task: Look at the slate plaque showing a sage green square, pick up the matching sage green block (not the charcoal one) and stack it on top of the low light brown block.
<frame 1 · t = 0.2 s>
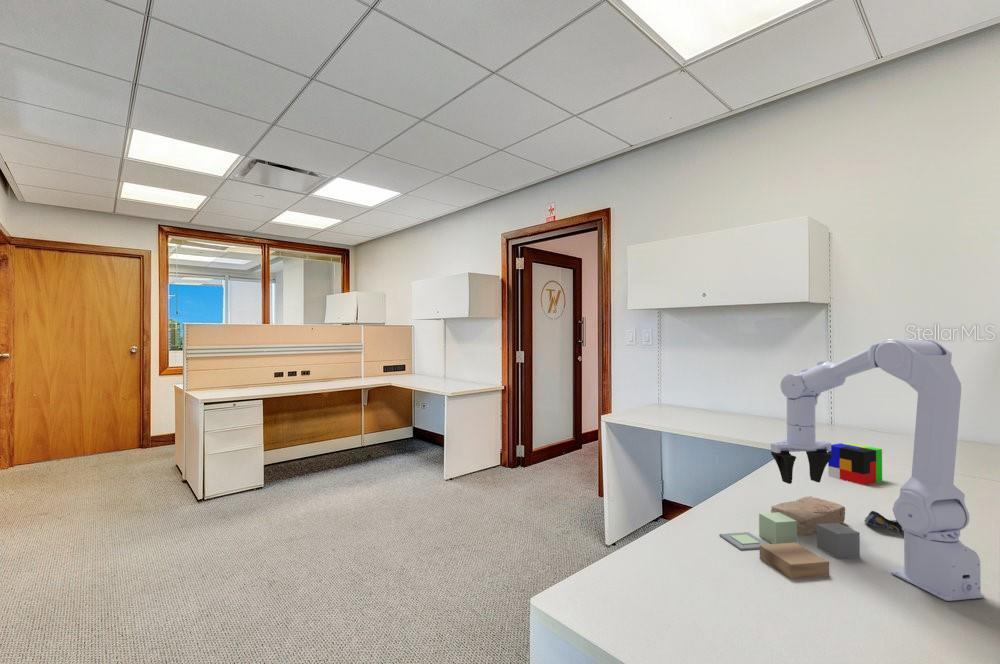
hand: (801, 481, 108), 10 cm above the table, fingers open, 7 cm apart
light brown block: (793, 568, 88), on the table
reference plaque: (744, 541, 98), on the table
sage block: (777, 540, 100), on the table
puzzle toy: (854, 479, 144), on the table
snack package: (902, 533, 104), on the table
brick: (807, 525, 109), on the table
charcoal block: (837, 552, 94), on the table
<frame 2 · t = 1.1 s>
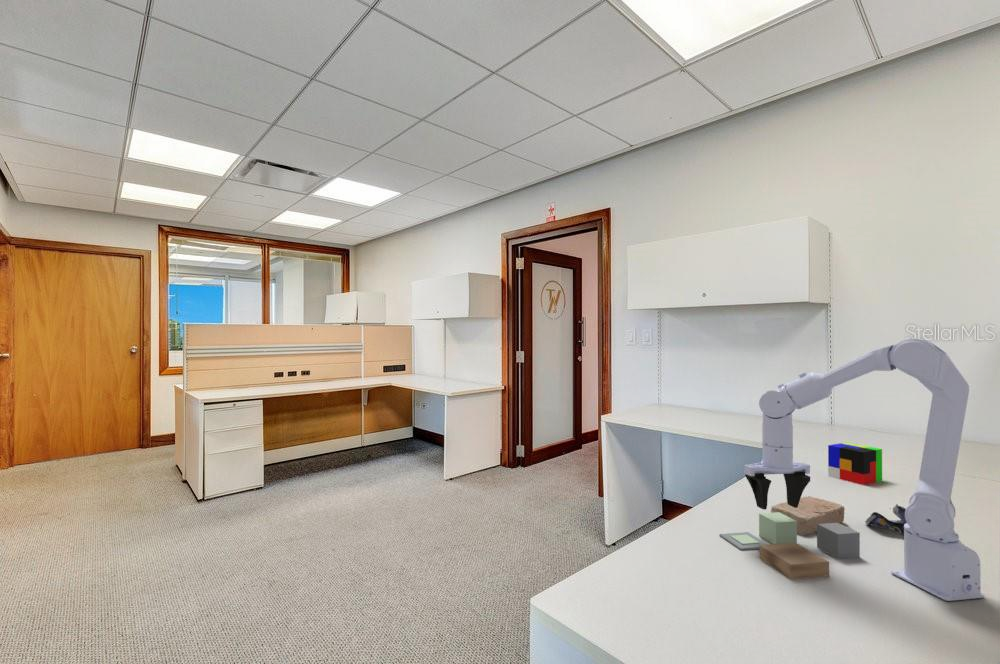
hand: (777, 507, 100), 7 cm above the table, fingers open, 7 cm apart
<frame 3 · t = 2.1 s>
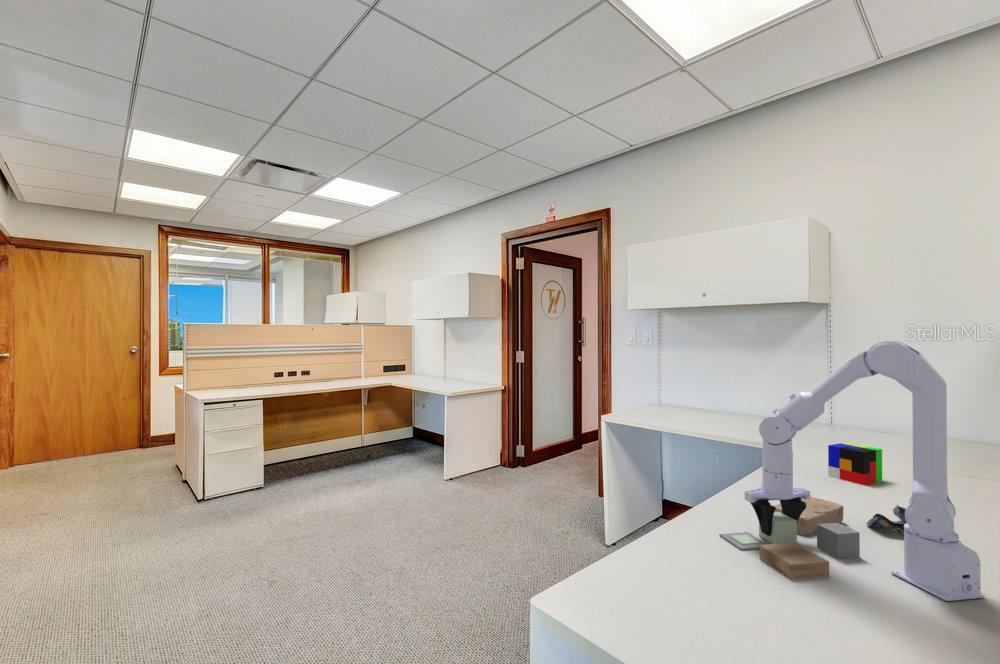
hand: (777, 533, 100), 1 cm above the table, fingers closed on sage block, 5 cm apart
sage block: (777, 539, 100), on the table, touching gripper
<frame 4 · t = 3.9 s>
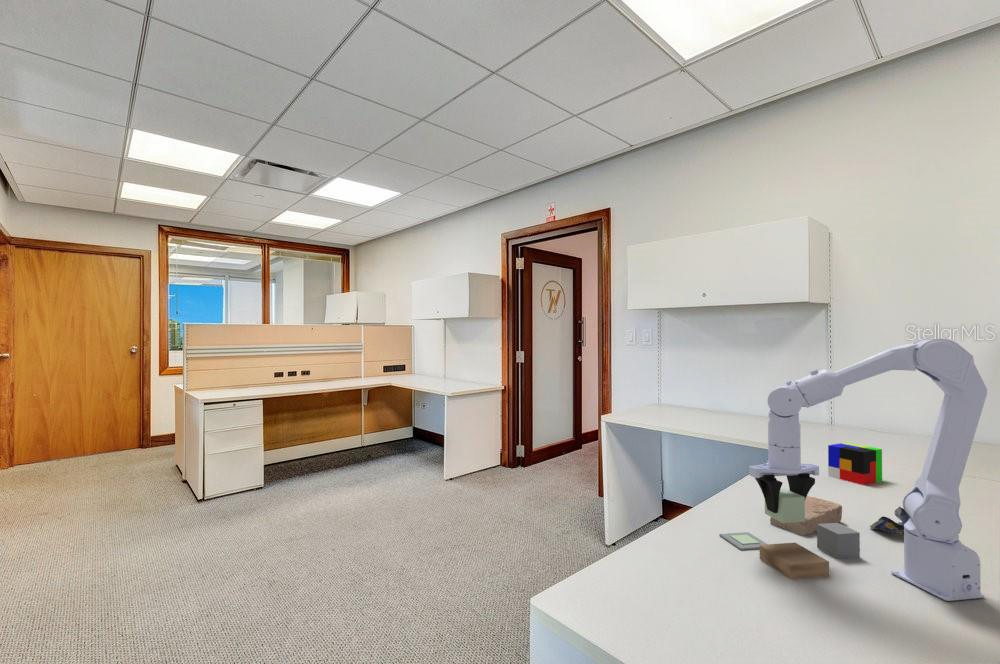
hand: (784, 510, 94), 8 cm above the table, fingers closed on sage block, 5 cm apart
sage block: (784, 517, 94), point 7 cm above the table, touching gripper
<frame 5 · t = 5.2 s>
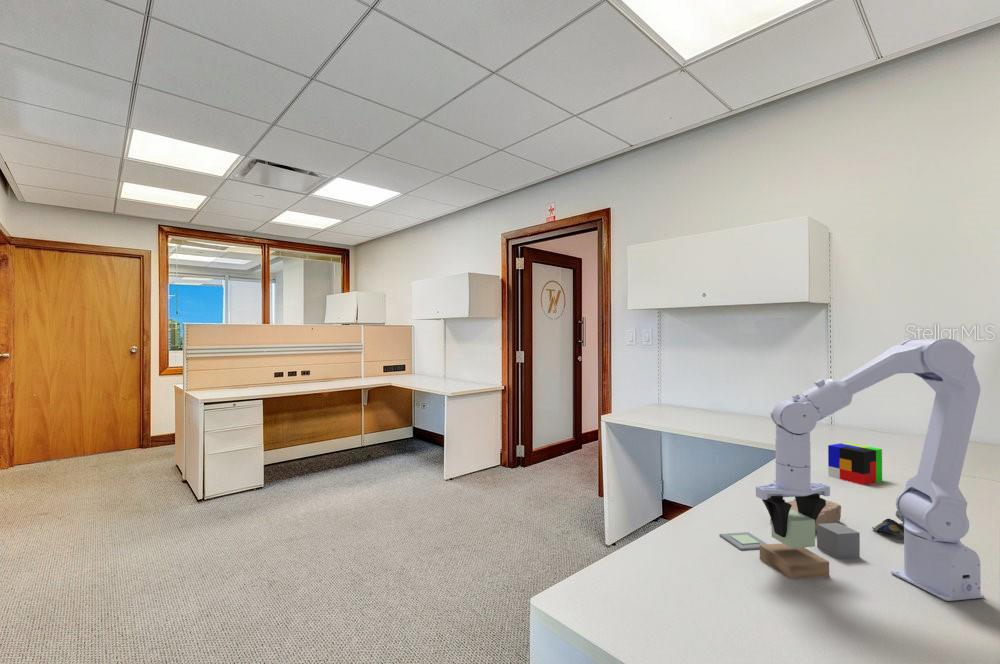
hand: (793, 534, 88), 6 cm above the table, fingers closed on sage block, 5 cm apart
sage block: (792, 541, 88), point 5 cm above the table, touching gripper
when the fingers open (6 cm above the table, at t = 5.2 s): sage block drops 2 cm, resting on light brown block.
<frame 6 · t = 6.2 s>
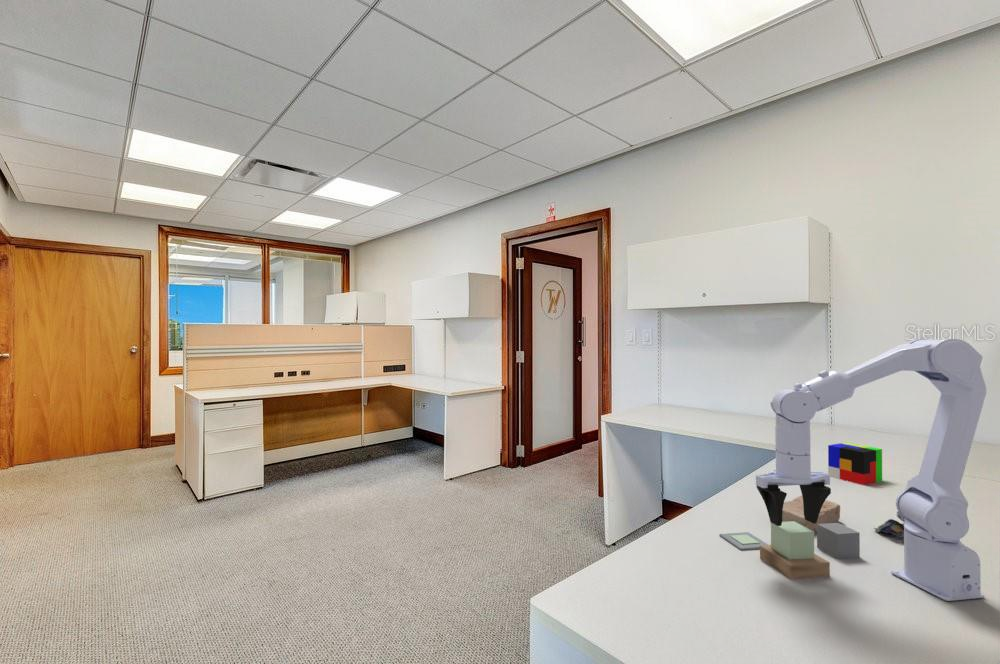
hand: (793, 522, 88), 8 cm above the table, fingers open, 7 cm apart
light brown block: (793, 569, 88), on the table, touching sage block
sage block: (792, 552, 88), point 3 cm above the table, touching light brown block
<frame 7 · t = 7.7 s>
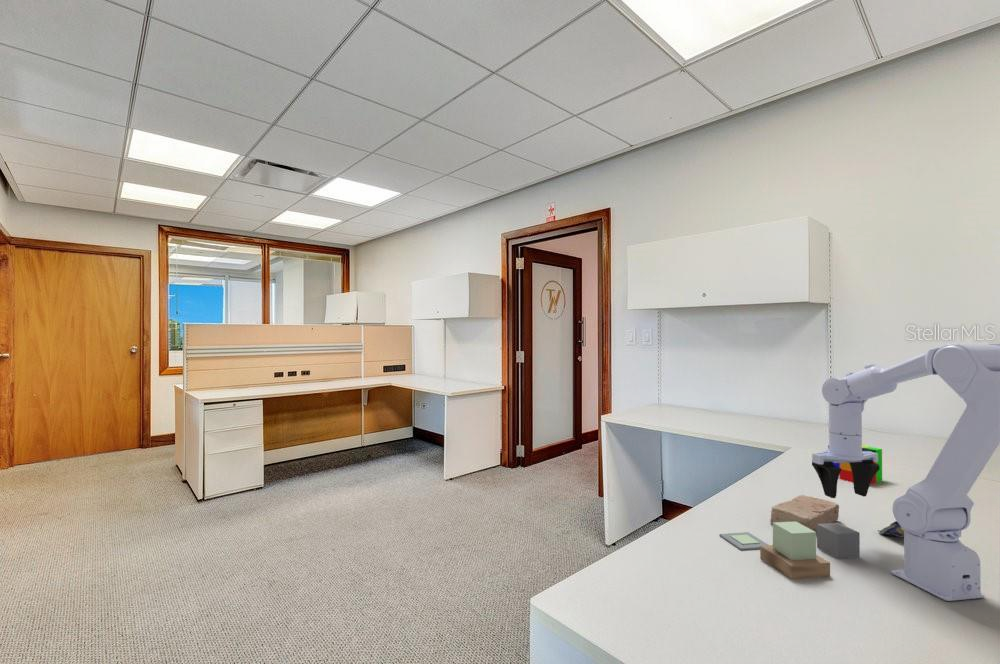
hand: (845, 495, 99), 10 cm above the table, fingers open, 7 cm apart
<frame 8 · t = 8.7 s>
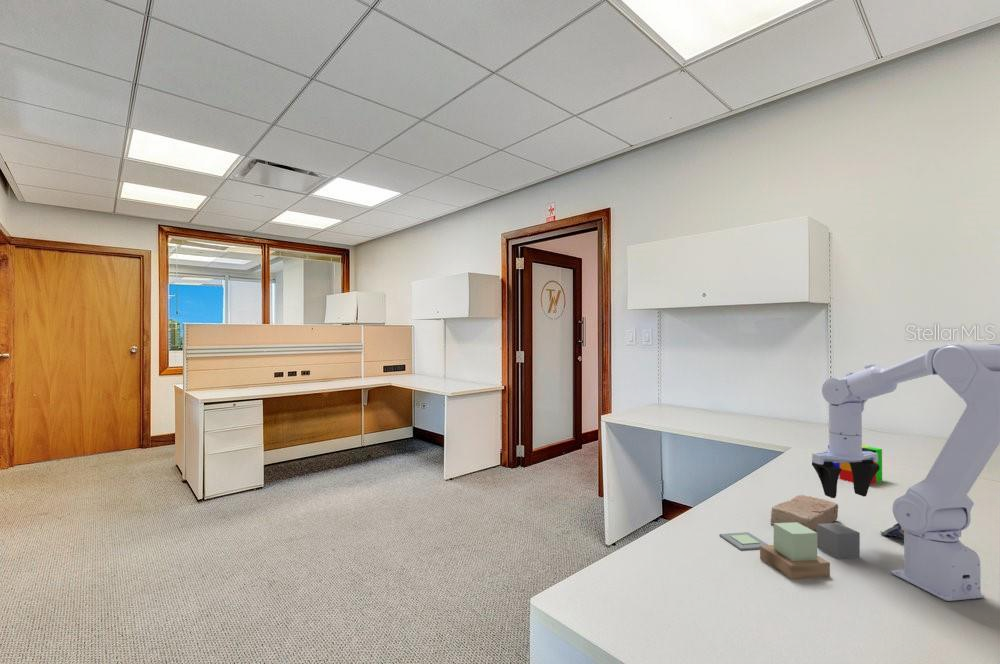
hand: (845, 495, 99), 10 cm above the table, fingers open, 7 cm apart
light brown block: (793, 569, 88), on the table
sage block: (794, 554, 88), point 3 cm above the table
at the end: sage block 0.2 cm off-centre on the light brown block, point 3.0 cm above the light brown block's base; sage block tilted 0°; charcoal block moved 0.1 cm from its start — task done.
